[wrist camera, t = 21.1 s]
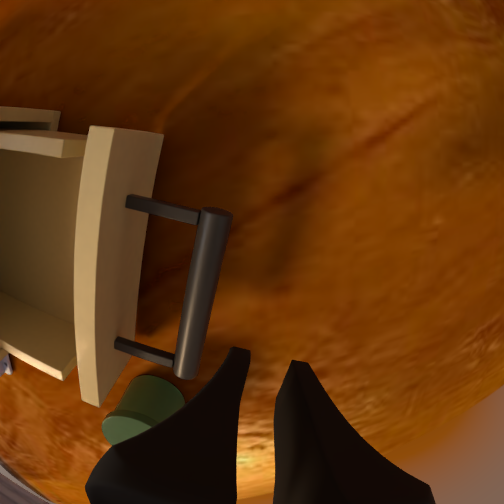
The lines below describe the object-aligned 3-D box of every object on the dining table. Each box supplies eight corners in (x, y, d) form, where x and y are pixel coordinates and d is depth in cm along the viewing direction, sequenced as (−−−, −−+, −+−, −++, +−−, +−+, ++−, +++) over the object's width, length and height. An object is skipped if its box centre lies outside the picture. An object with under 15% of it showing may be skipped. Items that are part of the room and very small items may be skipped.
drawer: (253, 153, 16) (243, 152, 10) (201, 373, 20) (182, 436, 15) (3, 116, 16) (-56, 117, 10) (-2, 295, 20) (-46, 325, 14)
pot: (185, 426, 23) (171, 471, 19) (125, 407, 23) (104, 448, 19) (193, 384, 22) (177, 432, 17) (125, 362, 22) (98, 405, 17)
